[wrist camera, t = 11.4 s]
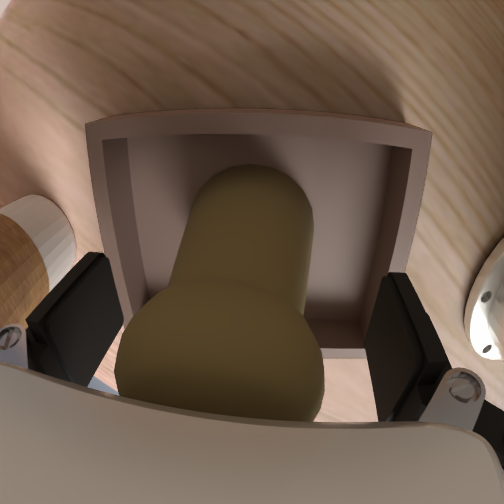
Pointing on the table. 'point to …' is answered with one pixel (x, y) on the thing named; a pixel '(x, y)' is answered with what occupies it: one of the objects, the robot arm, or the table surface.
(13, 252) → the coffee cup
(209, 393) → the tan tall rounded piece
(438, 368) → the robot arm
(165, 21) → the table surface
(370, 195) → the lacquer tray
